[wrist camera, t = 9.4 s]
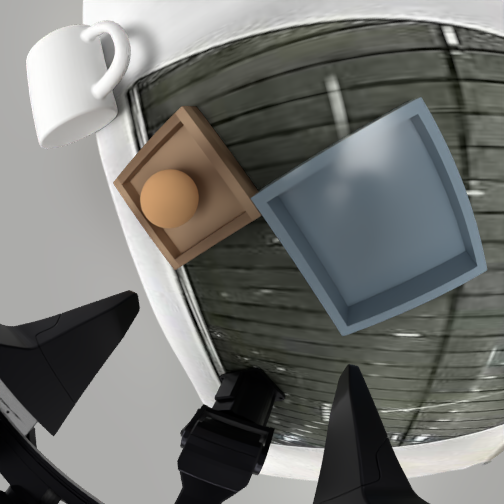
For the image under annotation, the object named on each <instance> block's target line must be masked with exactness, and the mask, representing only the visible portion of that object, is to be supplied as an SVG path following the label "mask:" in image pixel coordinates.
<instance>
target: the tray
mask: <svg viewBox="0 0 504 504" xmlns="http://www.w3.org/2000/svg"><path fill="white" fill-rule="evenodd" d="M166 169H175V170H179V171H182V172H184V173H186V174H187V175H188V176H189V177H191V179H192V180H193V181H194V183H195V184H196V186H197V189H198V194H199V202H198V207H197V209H196V212H195V213H194V215H193V216H192V218H191V219H190V220H189V221H188V222H186V223H185V224H183V225H181V226H179V227H176V228H162V227H159V226H156V225H154V224H153V223H151V222H150V221H149V220H148V219H147V218H146V216H145V215H144V213H143V211H142V208H141V203H140V196H141V191H142V188H143V186H144V184H145V183H146V181H147V180H148V179H149V178H150V177H151V176H152V175H153V174H155V173H157V172H159V171H162V170H166ZM113 184H114V185H115V187H116V188H117V190H118V191H119V193H120V194H121V196H122V197H123V199H124V200H125V202H126V203H127V205H128V206H129V208H130V209H131V211H132V212H133V213H134V215H135V216H136V218H137V219H138V221H139V222H140V223H141V225H142V226H143V228H144V229H145V231H146V232H147V233H148V235H149V236H150V238H151V239H152V240H153V242H154V243H155V244H156V246H157V247H158V248H159V250H160V251H161V253H162V254H163V255H164V257H165V258H166V259H167V261H168V262H169V263H170V265H171V266H172V267H173V268H174V270H176V269H178V268H179V267H181V266H182V265H184V264H185V263H187V262H188V261H190V260H192V259H193V258H195V257H196V256H198V255H199V254H201V253H202V252H204V251H206V250H207V249H209V248H210V247H212V246H213V245H215V244H217V243H218V242H220V241H221V240H223V239H225V238H226V237H228V236H229V235H231V234H233V233H234V232H236V231H237V230H239V229H241V228H242V227H244V226H245V225H247V224H249V223H250V222H252V221H253V220H255V219H257V218H258V217H260V216H262V214H261V213H260V211H259V210H258V209H257V207H256V206H255V204H254V203H253V201H252V200H251V199H250V198H251V197H253V196H254V195H255V194H256V193H257V192H258V190H257V188H256V187H255V186H254V184H253V183H252V181H251V180H250V178H249V177H248V176H247V174H246V173H245V171H244V170H243V169H242V167H241V166H240V164H239V163H238V162H237V160H236V159H235V158H234V156H233V155H232V153H231V152H230V151H229V149H228V148H227V147H226V145H225V144H224V142H223V141H222V140H221V138H220V137H219V136H218V134H217V133H216V132H215V130H214V129H213V128H212V126H211V125H210V124H209V122H208V121H207V120H206V118H205V117H204V116H203V114H202V113H201V112H200V110H199V109H198V108H197V107H194V106H182V107H181V108H180V109H179V110H178V111H177V112H176V113H175V114H174V115H173V116H172V117H171V118H170V119H169V120H168V121H167V122H166V123H165V124H164V125H163V126H162V127H161V128H160V129H159V130H158V131H157V132H156V133H155V134H154V135H153V136H152V137H151V139H150V140H149V141H148V142H147V143H146V144H145V145H144V146H143V147H142V149H141V150H140V151H139V152H138V153H137V154H136V156H135V157H134V158H133V159H132V160H131V161H130V163H129V164H128V165H127V166H126V167H125V169H124V170H123V171H122V172H121V174H120V175H119V176H118V177H117V179H116V180H115V181H114V182H113Z"/></svg>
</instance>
